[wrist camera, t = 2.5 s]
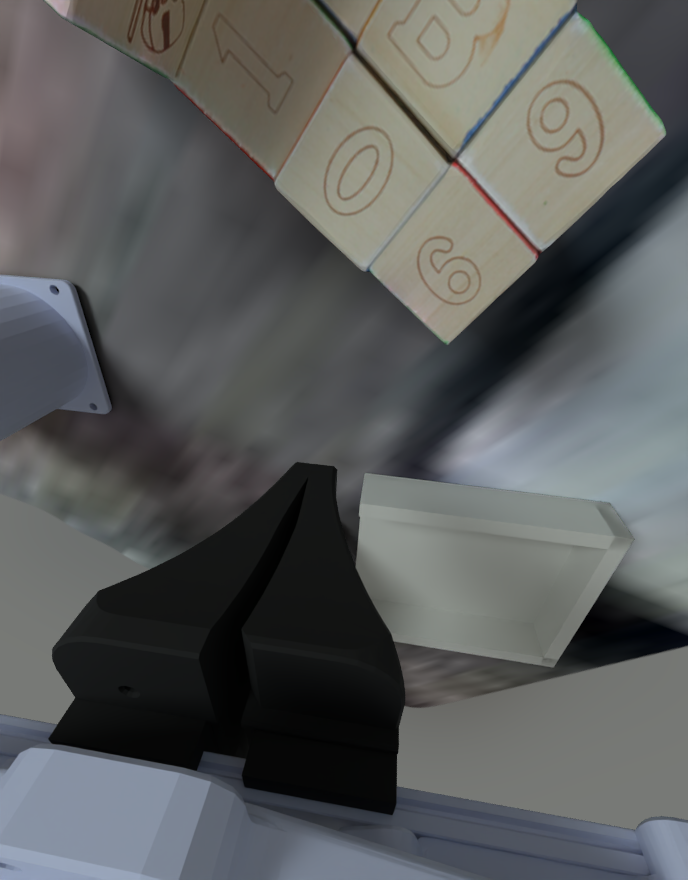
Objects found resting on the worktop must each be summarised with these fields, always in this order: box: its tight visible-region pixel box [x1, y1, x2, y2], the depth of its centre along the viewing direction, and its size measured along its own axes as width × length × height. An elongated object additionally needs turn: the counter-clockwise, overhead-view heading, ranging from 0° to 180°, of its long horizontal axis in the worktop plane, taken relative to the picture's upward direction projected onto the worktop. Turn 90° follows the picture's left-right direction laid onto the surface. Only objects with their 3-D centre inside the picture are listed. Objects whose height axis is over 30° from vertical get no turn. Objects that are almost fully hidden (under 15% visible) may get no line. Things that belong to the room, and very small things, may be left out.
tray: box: [356, 473, 634, 667], centre depth 26 cm, size 15×13×3 cm
